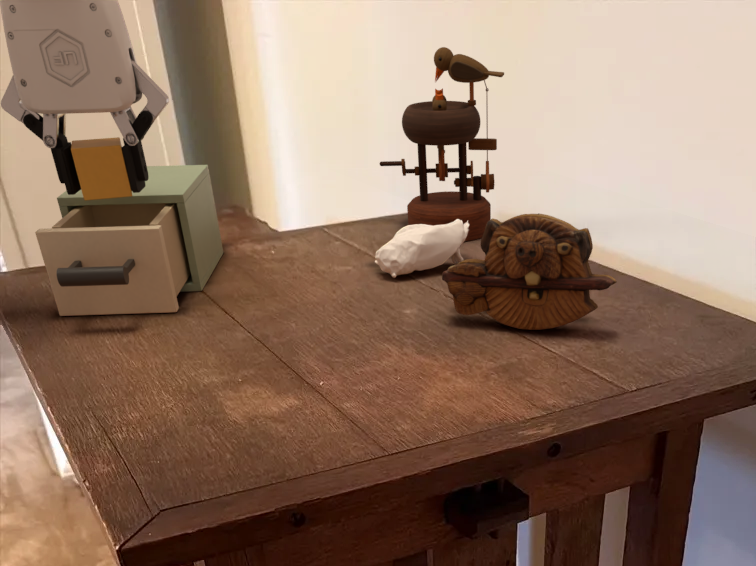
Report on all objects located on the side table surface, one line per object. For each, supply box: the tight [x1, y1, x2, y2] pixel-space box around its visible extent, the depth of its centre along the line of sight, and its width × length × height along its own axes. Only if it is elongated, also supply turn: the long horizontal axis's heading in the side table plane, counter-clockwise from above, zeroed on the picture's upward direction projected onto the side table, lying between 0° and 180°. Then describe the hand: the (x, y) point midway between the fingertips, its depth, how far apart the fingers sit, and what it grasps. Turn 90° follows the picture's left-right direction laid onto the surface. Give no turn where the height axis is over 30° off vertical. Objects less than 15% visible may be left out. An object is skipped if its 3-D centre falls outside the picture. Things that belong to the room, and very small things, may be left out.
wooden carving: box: [441, 213, 618, 331], centre depth 85 cm, size 16×5×10 cm, turn 77°
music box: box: [379, 46, 505, 242], centre depth 110 cm, size 15×11×20 cm
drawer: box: [34, 203, 191, 317], centre depth 91 cm, size 18×11×8 cm, turn 3°
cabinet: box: [56, 164, 224, 293], centre depth 101 cm, size 15×13×10 cm
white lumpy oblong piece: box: [374, 219, 469, 279], centre depth 101 cm, size 5×7×10 cm
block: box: [71, 136, 132, 201], centre depth 87 cm, size 4×4×4 cm
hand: (107, 188), depth 88 cm, fingers closed on block, 5 cm apart
